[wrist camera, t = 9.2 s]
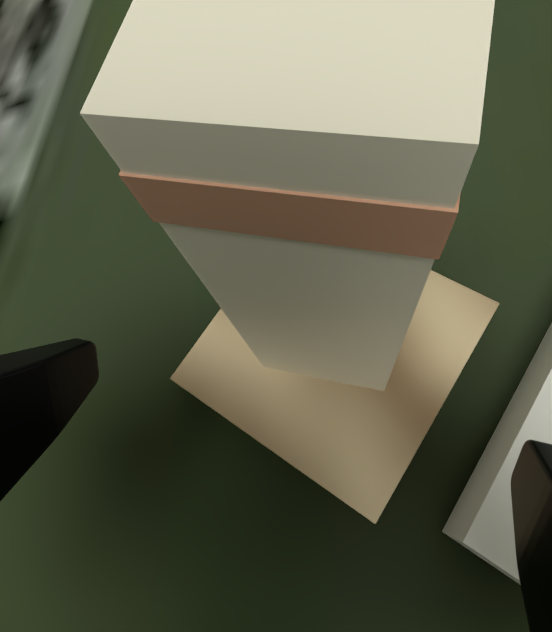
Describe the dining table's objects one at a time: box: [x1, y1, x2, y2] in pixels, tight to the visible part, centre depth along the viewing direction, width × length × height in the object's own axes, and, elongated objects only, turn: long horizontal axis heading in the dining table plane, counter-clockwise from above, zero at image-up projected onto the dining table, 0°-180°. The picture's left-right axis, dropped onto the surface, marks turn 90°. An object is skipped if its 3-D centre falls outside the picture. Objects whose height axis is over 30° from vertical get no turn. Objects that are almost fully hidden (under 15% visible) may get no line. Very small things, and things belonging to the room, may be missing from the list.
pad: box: [170, 270, 500, 524], centre depth 17 cm, size 9×9×1 cm
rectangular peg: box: [80, 0, 495, 391], centre depth 11 cm, size 3×5×12 cm
